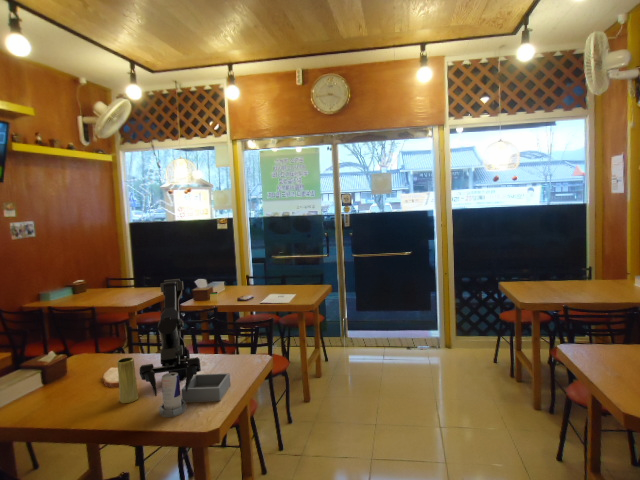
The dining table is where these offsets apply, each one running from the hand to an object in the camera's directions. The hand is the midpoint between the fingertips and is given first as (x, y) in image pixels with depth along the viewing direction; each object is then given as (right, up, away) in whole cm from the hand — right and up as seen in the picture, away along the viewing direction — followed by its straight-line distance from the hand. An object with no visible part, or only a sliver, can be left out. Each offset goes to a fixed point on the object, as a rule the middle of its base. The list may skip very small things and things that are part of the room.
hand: (171, 393), depth 136 cm
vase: (-19, -7, +13) cm, 24 cm away
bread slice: (-32, -7, +35) cm, 48 cm away
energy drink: (0, -7, +2) cm, 7 cm away
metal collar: (0, -7, +2) cm, 7 cm away
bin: (+8, -5, +14) cm, 17 cm away
